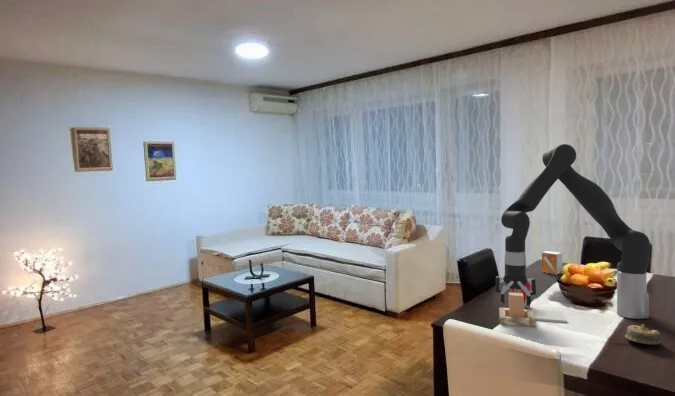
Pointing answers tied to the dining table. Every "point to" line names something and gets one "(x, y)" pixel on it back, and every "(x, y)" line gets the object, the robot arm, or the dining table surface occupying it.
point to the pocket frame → (517, 318)
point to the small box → (551, 262)
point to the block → (516, 305)
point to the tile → (549, 315)
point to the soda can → (523, 293)
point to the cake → (643, 335)
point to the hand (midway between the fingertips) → (515, 304)
